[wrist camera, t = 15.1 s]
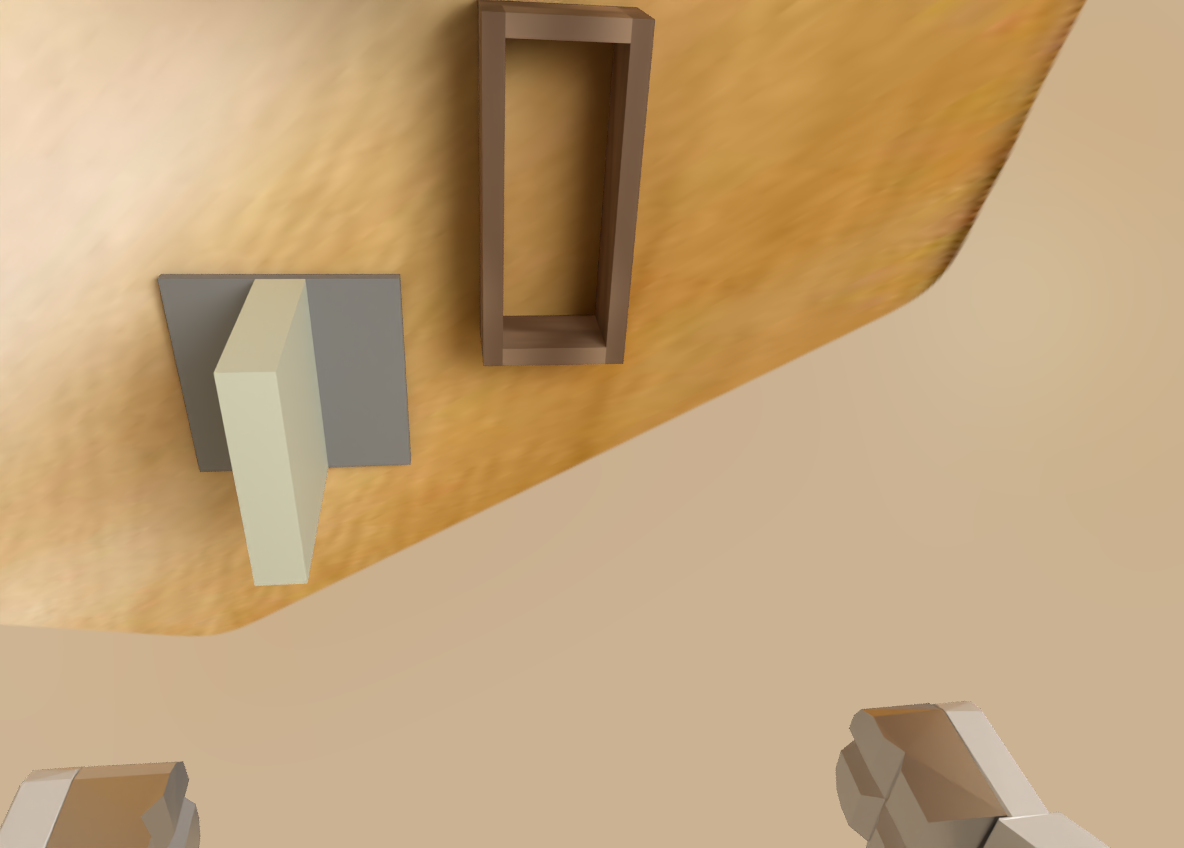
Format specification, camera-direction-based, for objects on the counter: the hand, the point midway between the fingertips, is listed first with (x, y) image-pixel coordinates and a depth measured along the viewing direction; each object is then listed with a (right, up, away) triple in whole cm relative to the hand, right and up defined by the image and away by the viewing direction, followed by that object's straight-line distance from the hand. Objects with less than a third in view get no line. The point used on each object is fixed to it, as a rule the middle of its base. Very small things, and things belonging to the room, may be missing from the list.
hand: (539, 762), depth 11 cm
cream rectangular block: (-16, +7, +37) cm, 41 cm away
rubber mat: (-16, +7, +38) cm, 42 cm away
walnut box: (-1, +17, +34) cm, 38 cm away
